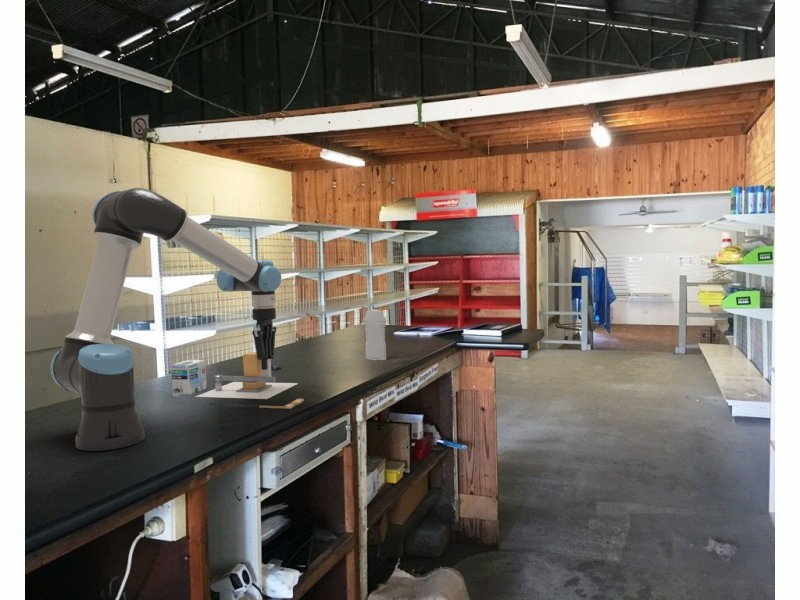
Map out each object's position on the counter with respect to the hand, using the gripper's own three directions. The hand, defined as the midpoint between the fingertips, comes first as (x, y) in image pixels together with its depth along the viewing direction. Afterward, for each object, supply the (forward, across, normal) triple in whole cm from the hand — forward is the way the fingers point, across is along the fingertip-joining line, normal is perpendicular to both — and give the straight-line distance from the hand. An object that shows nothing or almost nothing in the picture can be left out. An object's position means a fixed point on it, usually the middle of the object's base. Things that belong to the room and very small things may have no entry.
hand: (266, 378), depth 198 cm
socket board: (+5, 0, +6) cm, 8 cm away
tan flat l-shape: (+5, -14, -12) cm, 19 cm away
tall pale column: (+5, +70, -17) cm, 72 cm away
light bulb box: (+5, -4, +26) cm, 27 cm away
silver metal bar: (0, -2, +7) cm, 7 cm away
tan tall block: (+4, +1, +5) cm, 6 cm away
